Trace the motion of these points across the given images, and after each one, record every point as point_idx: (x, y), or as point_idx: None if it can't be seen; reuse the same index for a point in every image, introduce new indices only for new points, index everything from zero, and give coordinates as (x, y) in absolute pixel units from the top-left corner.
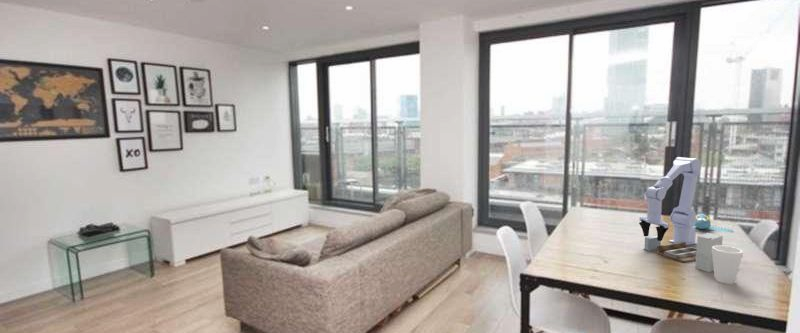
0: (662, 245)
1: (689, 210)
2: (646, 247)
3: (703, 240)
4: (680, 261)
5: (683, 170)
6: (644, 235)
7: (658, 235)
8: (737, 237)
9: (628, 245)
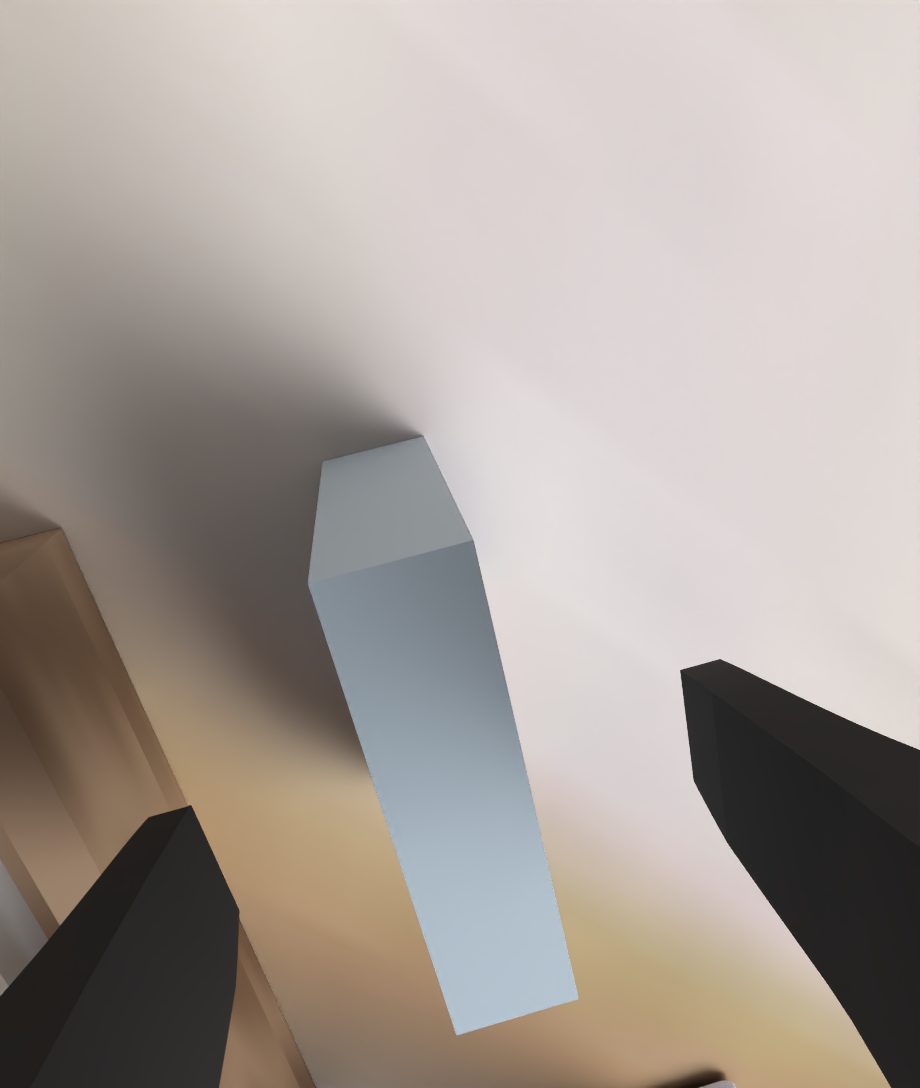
0: (20, 774)
1: None
2: (367, 465)
3: None
4: None
5: None
6: (712, 676)
7: (40, 979)
8: None
9: (760, 215)
